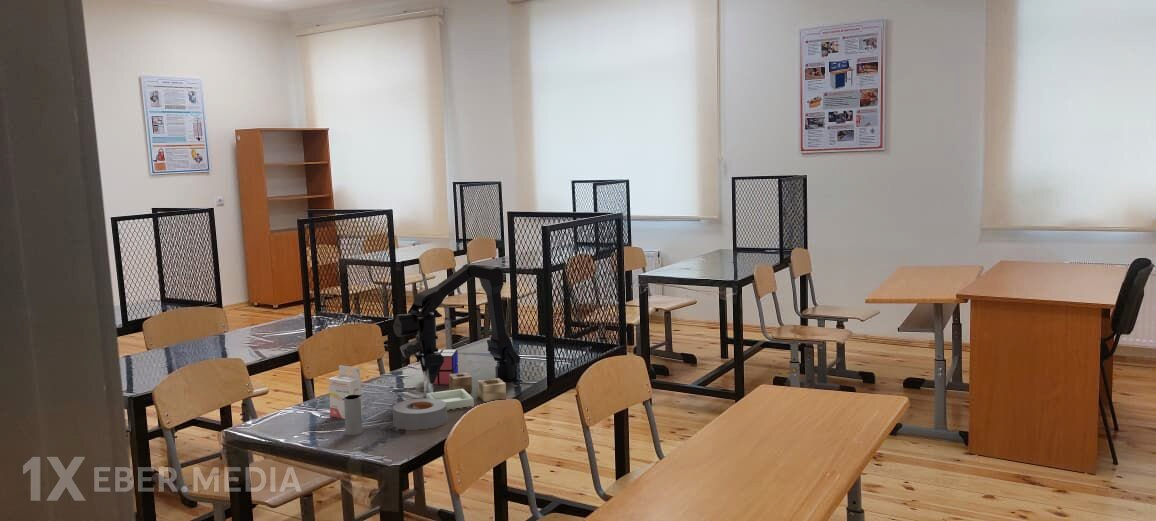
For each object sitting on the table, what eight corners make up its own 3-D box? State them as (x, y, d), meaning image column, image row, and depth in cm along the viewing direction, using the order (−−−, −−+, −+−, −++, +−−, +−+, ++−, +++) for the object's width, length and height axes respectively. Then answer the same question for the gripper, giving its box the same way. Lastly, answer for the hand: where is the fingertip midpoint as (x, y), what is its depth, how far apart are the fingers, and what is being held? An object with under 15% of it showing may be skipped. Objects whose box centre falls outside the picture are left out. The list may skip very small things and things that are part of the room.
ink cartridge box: (329, 416, 239) (326, 368, 237) (340, 412, 243) (338, 364, 242) (352, 420, 235) (349, 371, 234) (363, 415, 240) (361, 367, 238)
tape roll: (401, 413, 242) (401, 397, 242) (452, 414, 241) (451, 397, 241) (386, 430, 227) (386, 413, 226) (440, 431, 226) (439, 413, 225)
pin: (432, 394, 261) (431, 370, 260) (434, 396, 258) (433, 372, 257) (423, 395, 260) (422, 371, 259) (425, 397, 257) (424, 373, 256)
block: (467, 386, 269) (466, 372, 268) (472, 391, 264) (471, 376, 263) (449, 389, 267) (449, 374, 266) (454, 393, 261) (453, 378, 261)
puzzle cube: (453, 385, 272) (452, 356, 270) (423, 385, 272) (422, 356, 271) (458, 377, 282) (457, 349, 280) (429, 377, 282) (428, 349, 281)
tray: (463, 396, 258) (463, 388, 258) (473, 406, 247) (473, 398, 247) (426, 401, 254) (426, 393, 253) (435, 411, 243) (434, 403, 242)
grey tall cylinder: (347, 436, 222) (345, 400, 220) (344, 431, 226) (342, 395, 224) (364, 433, 224) (362, 397, 223) (360, 429, 228) (358, 393, 227)
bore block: (499, 393, 262) (498, 378, 261) (505, 398, 255) (505, 383, 255) (478, 395, 259) (477, 380, 258) (484, 401, 252) (484, 386, 252)
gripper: (395, 329, 262) (397, 375, 264) (407, 340, 245) (409, 390, 247) (429, 325, 266) (431, 371, 268) (443, 337, 249) (445, 386, 251)
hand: (428, 379), depth 258 cm, fingers open, 9 cm apart
